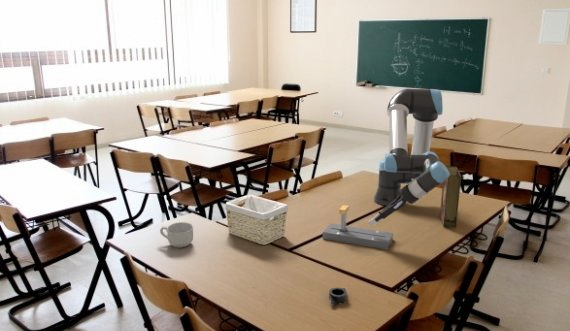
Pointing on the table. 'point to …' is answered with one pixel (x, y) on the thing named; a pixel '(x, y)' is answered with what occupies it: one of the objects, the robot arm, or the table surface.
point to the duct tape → (337, 295)
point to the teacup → (179, 234)
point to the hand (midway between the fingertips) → (370, 223)
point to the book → (450, 198)
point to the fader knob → (343, 217)
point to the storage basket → (256, 219)
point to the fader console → (358, 236)
